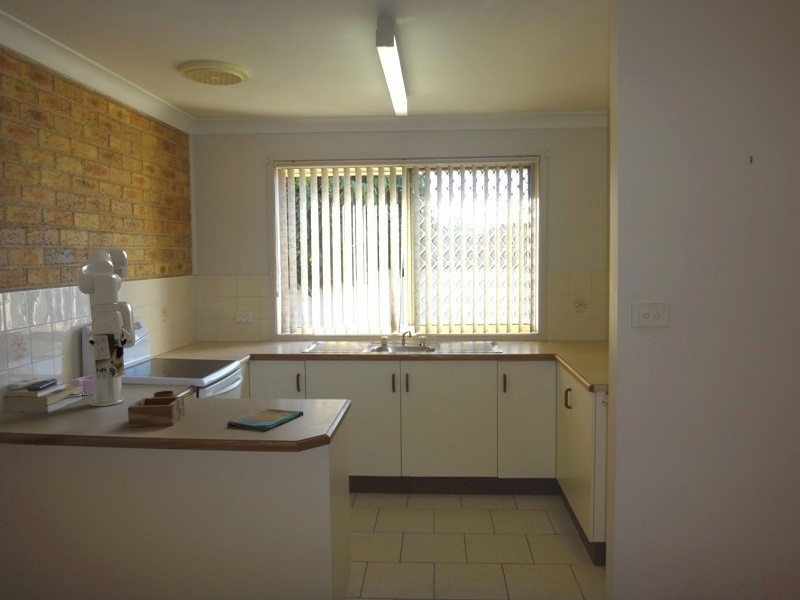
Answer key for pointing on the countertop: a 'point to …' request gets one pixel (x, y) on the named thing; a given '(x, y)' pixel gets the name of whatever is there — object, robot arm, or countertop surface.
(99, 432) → the countertop surface
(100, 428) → the countertop surface
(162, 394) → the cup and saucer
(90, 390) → the pink plastic container
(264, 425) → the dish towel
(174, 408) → the open wooden box
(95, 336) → the coffee box
